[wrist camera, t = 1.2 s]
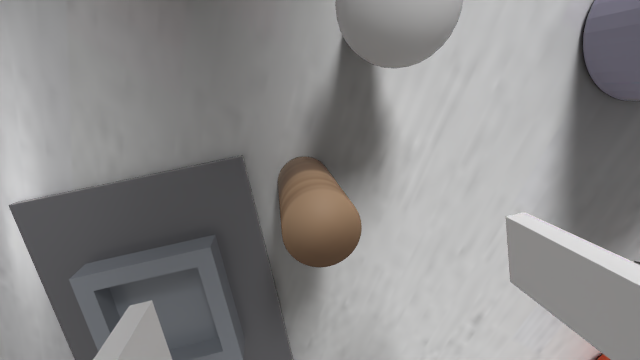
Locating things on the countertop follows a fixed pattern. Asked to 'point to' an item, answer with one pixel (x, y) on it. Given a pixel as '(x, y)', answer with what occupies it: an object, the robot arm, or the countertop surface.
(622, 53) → the container
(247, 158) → the countertop surface
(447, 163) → the countertop surface
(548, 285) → the robot arm
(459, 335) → the countertop surface
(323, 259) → the peg
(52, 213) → the socket
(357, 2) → the lightbulb
